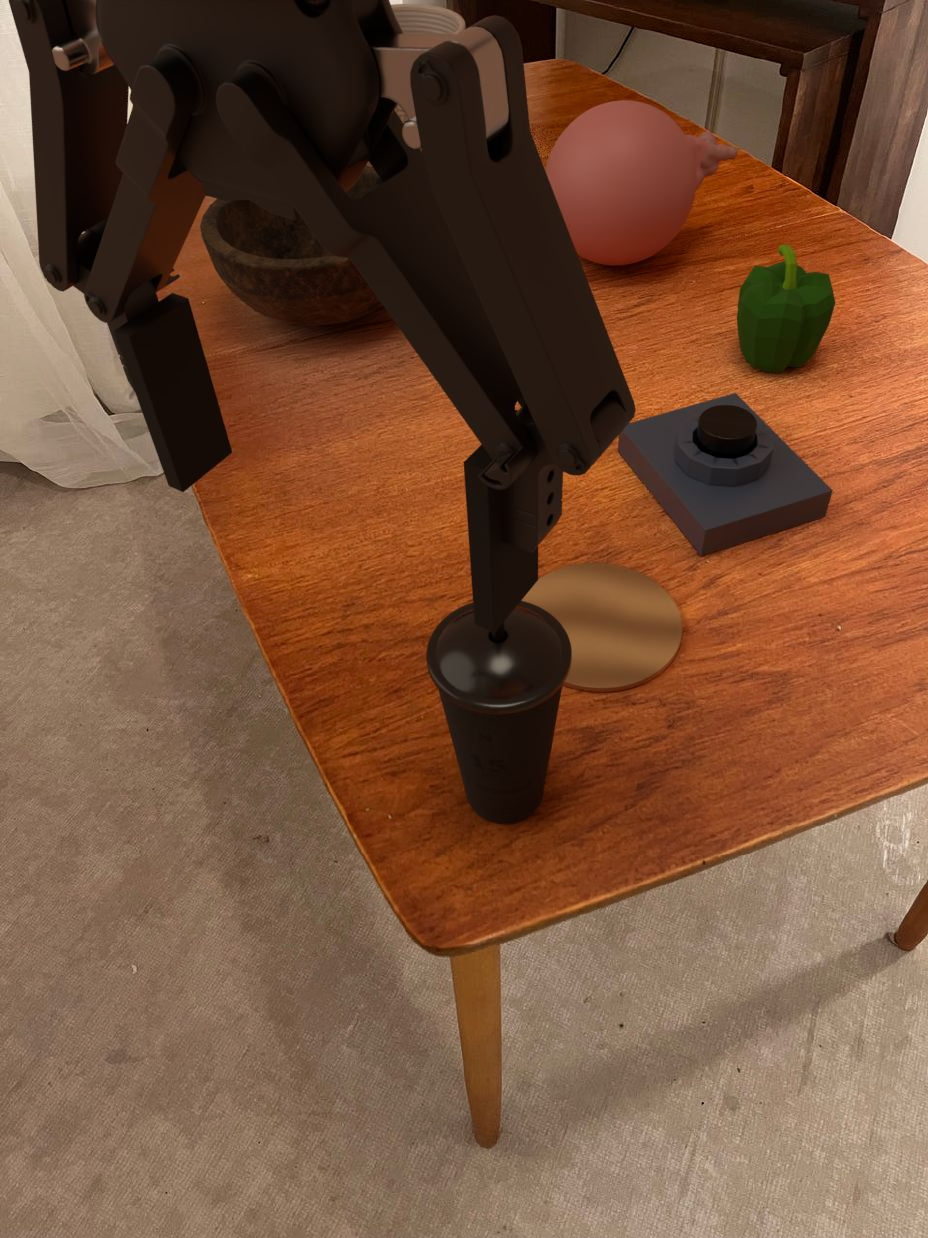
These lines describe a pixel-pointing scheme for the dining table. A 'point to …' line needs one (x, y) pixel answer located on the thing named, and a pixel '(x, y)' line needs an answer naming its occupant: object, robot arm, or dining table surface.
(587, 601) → the coaster
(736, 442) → the button
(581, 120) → the balloon
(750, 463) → the plate
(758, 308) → the bell pepper
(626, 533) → the dining table surface
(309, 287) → the bowl
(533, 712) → the drinking cup
